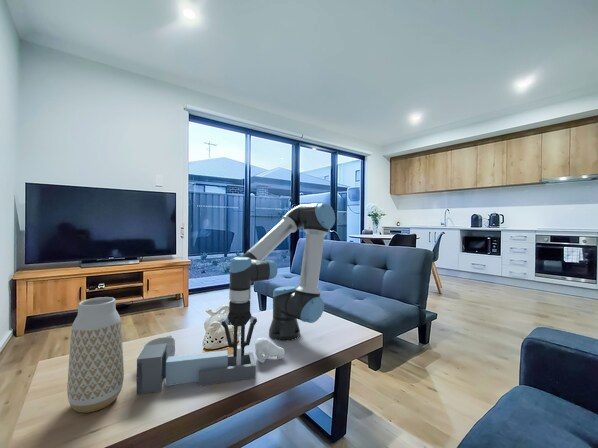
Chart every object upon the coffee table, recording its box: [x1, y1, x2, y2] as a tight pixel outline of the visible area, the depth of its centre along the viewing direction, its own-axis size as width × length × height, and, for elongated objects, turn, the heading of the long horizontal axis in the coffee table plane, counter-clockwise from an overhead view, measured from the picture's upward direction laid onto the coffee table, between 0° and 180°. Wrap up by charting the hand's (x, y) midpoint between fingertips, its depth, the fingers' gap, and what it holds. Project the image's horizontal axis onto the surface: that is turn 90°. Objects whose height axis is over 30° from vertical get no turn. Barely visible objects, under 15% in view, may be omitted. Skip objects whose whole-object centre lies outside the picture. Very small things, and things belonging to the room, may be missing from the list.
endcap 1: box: [136, 343, 167, 395], centre depth 93 cm, size 7×10×11 cm
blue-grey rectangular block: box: [165, 349, 229, 386], centre depth 97 cm, size 20×4×8 cm, turn 106°
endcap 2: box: [198, 351, 257, 387], centre depth 100 cm, size 19×10×4 cm, turn 106°
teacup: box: [143, 334, 176, 359], centre depth 109 cm, size 14×11×8 cm
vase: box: [66, 296, 125, 414], centre depth 83 cm, size 14×14×31 cm
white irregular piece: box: [254, 337, 285, 364], centre depth 111 cm, size 6×8×12 cm
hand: (238, 364), depth 101 cm, fingers closed
